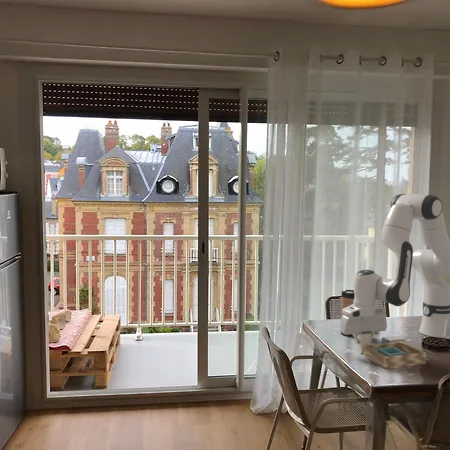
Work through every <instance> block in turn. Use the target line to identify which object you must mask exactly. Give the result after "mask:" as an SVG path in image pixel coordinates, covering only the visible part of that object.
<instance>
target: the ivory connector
mask: <svg viewBox="0 0 450 450" xmlns="http://www.w3.org/2000/svg"><path fill="white" fill-rule="evenodd" d="M357 337H358V339H360V344H356V343H355V344H356V345H355V350H356V351H357V352H358V353H361V354H364V346H367V345H371V343H370V340H371V331H365V332H362V333H358V336H357Z"/></svg>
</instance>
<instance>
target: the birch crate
mask: <svg viewBox="0 0 450 450" xmlns="http://www.w3.org/2000/svg"><path fill="white" fill-rule="evenodd" d="M387 347H395V348H397V349H399V350H401V351H403V352H405V353H406V355H397V356H388V357H386V356H384V355H383V354H381V353H379V352H378V348H387ZM363 357H364V358H365V359H367V360H369V361H371V362H373V363H374V364H375V365H376V364H377V365H378V366H379V367H381V368H383V369H384V370H391V369H397V368H398V369H399V368H407V367H412V366H420V365H426V362H427V361H426V360H427V353H426V352H425V351H422V350H421V349H418V348H416V347H414V346H412V345H409V344H407V343H404V342H395V343H386V344H382V343H379V344H378V343H377V344H370V345H367V346H364V353H363Z"/></svg>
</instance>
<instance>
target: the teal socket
mask: <svg viewBox="0 0 450 450" xmlns="http://www.w3.org/2000/svg"><path fill="white" fill-rule="evenodd" d="M378 352H379V353H381V354H383V355H384V356H386V357H388V356H397V355H406V353H405V352H403V351H401V350H399V349H397V348H395V347H387V348H378Z"/></svg>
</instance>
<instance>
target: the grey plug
mask: <svg viewBox="0 0 450 450" xmlns="http://www.w3.org/2000/svg"><path fill="white" fill-rule="evenodd" d="M395 342H404V343H406V342H407V340H406V337H403V336H401V335H393V336H392V335H391V336H383V337H381V344H386V343H395ZM406 344H407V343H406Z"/></svg>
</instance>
